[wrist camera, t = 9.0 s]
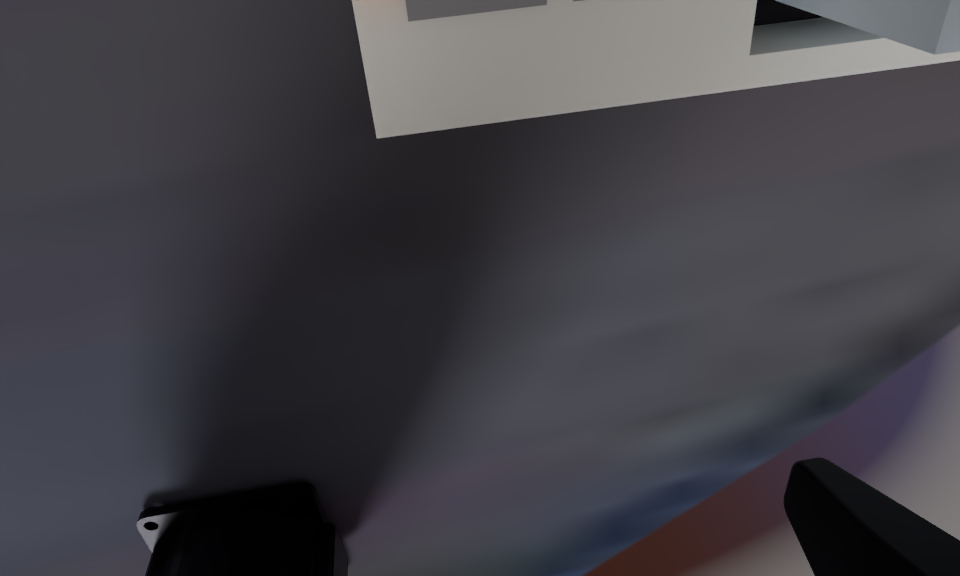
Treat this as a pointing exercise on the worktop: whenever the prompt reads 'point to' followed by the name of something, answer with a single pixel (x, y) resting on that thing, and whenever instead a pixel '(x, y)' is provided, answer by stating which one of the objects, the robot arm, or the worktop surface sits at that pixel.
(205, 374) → the worktop surface
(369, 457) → the worktop surface
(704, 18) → the power strip
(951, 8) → the box
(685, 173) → the worktop surface
